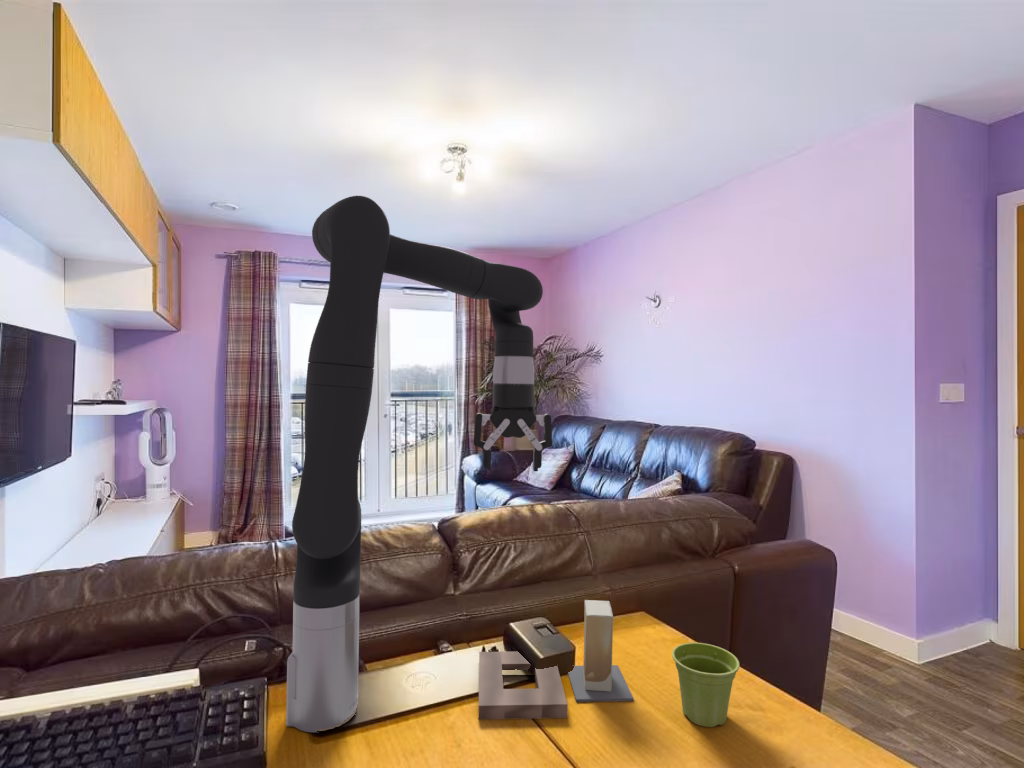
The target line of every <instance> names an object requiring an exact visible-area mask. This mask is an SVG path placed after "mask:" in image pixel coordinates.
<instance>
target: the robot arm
mask: <svg viewBox="0 0 1024 768" xmlns="http://www.w3.org/2000/svg"><path fill="white" fill-rule="evenodd" d="M388 220H389V219H388V218H387V215H386V213H385V212H384V210H383V209H382V207H381V206H380V205H379V204H378V203H377V202H376V200H373V199H372V198H370V197H367V196H366V195H365V196H364V195H351V196H348V197H345V198H343V199H341V200H339V201H336V202H335V203H334V204H332V205H331V206H329V207H328V208H327V209H325V210H324V211H322V212H321V214H320V215H319V216H318V217H317V218H316V220H315V221H314V223H313V226H312V229H311V237H312V242H313V244H314V245H313V246H314V247H315V249H316V250H317V252H318V254H319V255H320V256H321V257H322V259H325V260H326V261H327V263H329V264H330V266H329V269H330V270H329V284H328V290H327V295H326V298H325V299H326V300H325V302H324V306H323V309H322V311H321V314H320V316H319V319H318V321H317V324H316V326H315V331H314V333H313V337H312V340H311V343H310V348H309V353H308V359H307V360H308V361H307V369H306V371H307V372H306V378H305V379H306V382H305V397H304V398H305V399H304V400H305V401H304V457H303V458H304V460H303V466H302V467H303V469H302V472H301V473H302V474H301V479H300V485H299V490H298V495H297V500H296V504H295V508H294V513H293V517H292V521H291V530H292V534H293V537H294V539H295V542H296V544H297V545H296V563H295V573H294V580H293V588H292V589H293V593H292V594H293V596H292V597H293V598H292V600H293V602H292V603H293V605H292V608H293V609H292V652H291V653H290V655H289V656H288V658H287V661H286V709H285V710H286V716H285V717H286V718H285V722H286V723H285V725H286V727H294V728H296V729H298V730H299V731H301V732H307V733H318V732H317V730H318V729H326V728H329V727H334V726H336V725H338V724H339V723H342V722H344V720H346V719H347V718H348V717H350V716H351V715H352V714H353V713H354V711H355V710H356V708H357V704H358V703H359V657H360V656H359V655H360V654H359V652H360V649H359V648H360V647H359V646H360V644H359V643H360V641H359V640H360V590H361V589H360V586H361V567H362V566H361V565H362V563H361V562H362V561H361V560H362V559H361V557H362V556H361V555H362V554H361V551H362V549H361V548H362V545H361V544H362V508H361V503H360V500H359V490H358V488H359V485H358V484H359V463H360V462H359V461H360V455H361V449H362V445H363V440H364V436H365V432H366V428H367V423H368V417H369V411H370V407H371V402H372V401H371V400H372V395H373V394H372V393H373V384H374V373H375V369H374V368H375V355H376V343H377V342H376V341H377V331H378V315H379V314H378V313H379V300H380V295H381V288H382V283H383V278H384V277H383V276H384V274H388V275H392V276H397V277H401V278H405V279H409V280H412V281H415V282H420V283H423V284H425V285H430V286H433V287H435V288H439V289H442V290H445V291H448V292H451V293H454V294H456V295H457V294H458V295H460V296H463V297H466V298H469V299H473V300H481V301H482V300H487V301H488V302H487V304H488V308H489V313H490V317H491V319H490V320H491V322H492V327H493V331H494V334H495V337H494V363H493V371H492V373H493V374H492V411H491V413H490V414H489V413H488V414H487V413H481V412H477V413H476V414H475V420H474V432H473V434H474V435H473V446H475V447H476V448H480V449H482V450H483V455H482V456H483V459H482V460H483V461H482V464H483V465H482V466H483V468H486V471H487V472H490V471H492V449H491V448H492V446H493V445H494V444H495V442H497V440H499V437H500V436H501V437H503V438H506V439H507V438H513V437H514V438H517V439H519V438H523V437H525V436H526V438H527V439H528V441H529V442H530V443H531V444H532V445H533V447H534V449H533V450H532V452H533V454H532V455H533V456H532V471H533V472H538V471H539V470H538V469H541V468H542V462H543V459H542V453H543V450H544V449H547V448H551V447H552V446H553V429H552V416H551V415H550V414H548V413H544V414H536V413H535V407H534V404H535V403H534V402H535V366H534V365H535V364H534V332H533V329H532V328H531V327H530V326H529V325H526V324H523V323H522V319H521V315H520V312H521V311H527V310H531V309H533V308H535V307H536V306H537V305H538V304H539V303H540V302H541V300H542V297H543V295H544V292H543V291H544V289H543V285H542V282H541V280H540V279H539V278H538V276H537V275H535V273H534V272H531V271H530V270H527V269H525V268H522V267H519V266H513V265H508V264H504V263H498V262H491V261H487V260H485V259H483V258H481V257H478V256H476V255H473V254H471V253H467V252H465V251H462V250H460V249H456V248H452V247H448V246H443V245H437V244H431V243H425V242H419V241H415V240H414V241H413V240H409V239H407V238H402V237H400V236H396V235H393V234H391V228H390V224H389V221H388ZM488 421H490V422H491V424H492V425H493V427H494V428H495V429H494V430H493V431H492V433H491V434H490V435H489V436H488V438H487V439H486V441H484V440H482V439H481V438H482V427H484V426H486V424H487V422H488ZM536 422H538V423H539V426H541V427H543V440H542V441H539V439H538V438H537V437H536V435H535V434H534V433H533V431H532V430H531V429H532V427H533V426H534V424H535V423H536ZM358 705H359V704H358Z"/></svg>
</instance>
